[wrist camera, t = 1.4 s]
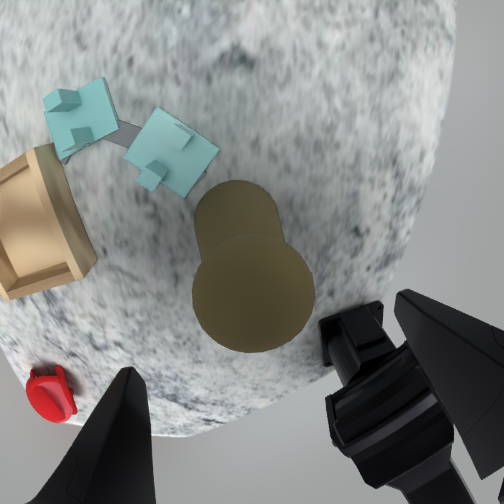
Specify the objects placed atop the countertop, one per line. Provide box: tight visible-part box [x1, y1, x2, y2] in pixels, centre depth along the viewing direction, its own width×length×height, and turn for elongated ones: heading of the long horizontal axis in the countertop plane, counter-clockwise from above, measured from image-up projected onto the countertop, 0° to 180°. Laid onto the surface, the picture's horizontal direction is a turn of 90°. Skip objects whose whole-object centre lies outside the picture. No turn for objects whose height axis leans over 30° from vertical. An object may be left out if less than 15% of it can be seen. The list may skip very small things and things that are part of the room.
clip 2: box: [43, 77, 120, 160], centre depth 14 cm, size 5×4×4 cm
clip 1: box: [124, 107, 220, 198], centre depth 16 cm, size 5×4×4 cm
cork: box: [192, 180, 315, 353], centre depth 16 cm, size 6×6×11 cm
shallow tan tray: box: [0, 143, 97, 302], centre depth 17 cm, size 10×10×3 cm
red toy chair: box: [26, 366, 78, 423], centre depth 23 cm, size 8×6×6 cm
